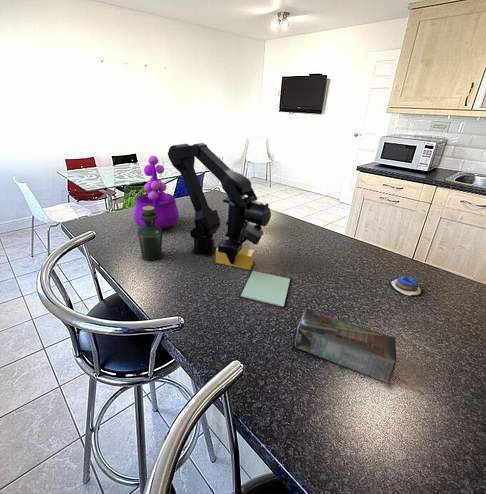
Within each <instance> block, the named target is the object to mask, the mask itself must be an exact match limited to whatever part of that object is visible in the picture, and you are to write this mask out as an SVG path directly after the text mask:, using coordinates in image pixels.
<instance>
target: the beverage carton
mask: <svg viewBox="0 0 486 494" xmlns="http://www.w3.org/2000/svg"><path fill="white" fill-rule="evenodd" d="M396 342H397V341H396V337H395V336H391V335H388V334H385V333H382V332H379V331H376V330H372V329H370V328H366V327H364V326H360V325H356V324H354V323H351V322H346V321H343V320H340V319H337V318H334V317H332V316H329V315H324V314H322V313H318V312H317V311H313V310H309V309H307V308H306V309H304V312H303V314H302V316H301V319H300V321H299V323H298V326H297V329H296V336H295V340H294V348H296V349H298V350H301V351H304V352H306V353H309V354H310V355H313V356H316V357H319V358H321V359H324V360H327V361H329V362H332V363H335V364H336V365H339V366H343V367H345V368H347V369H350V370H353V371H355V372H357V373H361V374H363V375H366V376H368V377H371V378H374V379H376V380H379V381H381V382H384V383H386V384H389V383H390V380H391V379H392V376H393V373H394V371H395V367H396V364H397V343H396Z"/></svg>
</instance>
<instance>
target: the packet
mask: <svg viewBox="0 0 486 494" xmlns="http://www.w3.org/2000/svg"><path fill="white" fill-rule="evenodd" d="M254 257H255V250H254V249H251V248H250V249H249V248H244V247H241V250H240V252H239V253H238V254H237V255H236V258H235V262H234V264H230V262H229V260H228V257H227V255H226V254H225V253H221V252H218V247H216V248H215V263H217V264H221V265H225V266H231V267H235V268H240V269H243V270H244V269H245V270H249V271H250V270H251V269H252V267H253V264H254V260H255V259H254Z"/></svg>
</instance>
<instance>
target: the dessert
mask: <svg viewBox="0 0 486 494" xmlns="http://www.w3.org/2000/svg"><path fill="white" fill-rule="evenodd" d="M390 284H391V286H392V287H393V288H394V289H395V290H396V291H398V292H399V293H401V294H403V295H405V296H419V295H420V294H421V293H422V289H421V288H420V284H419V283H418V281H417V279H416V278H412V277H409V276H407V275H405V274H403V275H402V276H399V277H398V278H397V279H396V278H395V279H394V280H392V281H391V283H390Z"/></svg>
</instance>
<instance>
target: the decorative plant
mask: <svg viewBox="0 0 486 494" xmlns="http://www.w3.org/2000/svg"><path fill="white" fill-rule="evenodd" d="M147 161H148V164H146V165H145V166H144V167H143V173H144V175H145V176H146V177H150V178H149V179H148V182H146V183H145V184H144V186H143V187H144V189H143V190H144V191H146V192H147V193H143V194H140V195H138V196H137V197H136V198H135V208H134V214H133V219H134V222H135V224H137V225H138V226H139V227H140V228H141V227H143V226H145V223H144V221H143V220H141V219H140V217H141V214H142V213H144V212H143V207H145V206H153V207H154V212H155V213H157V215H158V219H156V220H155V222H154V225H157V226H159V227H160V228H161V229H162V230H163V229H166V228H169V227H172V226H174V225H175V223H176V222H177V221H178V220H179V218H180V216H179V209H178V206H177V202H176V197H175V196H174V195H173V194H171V193H167V192H165V191H166V190H167V184H166V183H165V182H162V181H160V180H159V178H158V174H161V175H162V174H163V173H164V172H165V167H164V165H162V164H159V161H160V160H159V158H158V157H157V156H156V155H150V156H149V157H148V160H147Z"/></svg>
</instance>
